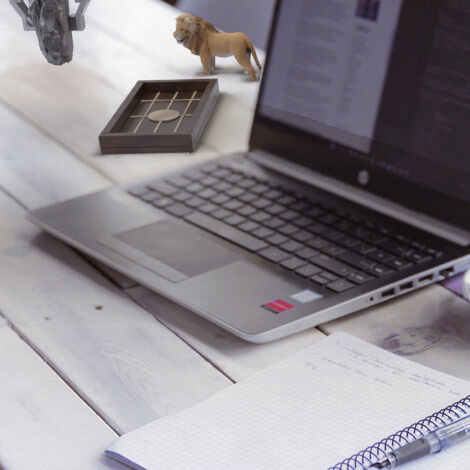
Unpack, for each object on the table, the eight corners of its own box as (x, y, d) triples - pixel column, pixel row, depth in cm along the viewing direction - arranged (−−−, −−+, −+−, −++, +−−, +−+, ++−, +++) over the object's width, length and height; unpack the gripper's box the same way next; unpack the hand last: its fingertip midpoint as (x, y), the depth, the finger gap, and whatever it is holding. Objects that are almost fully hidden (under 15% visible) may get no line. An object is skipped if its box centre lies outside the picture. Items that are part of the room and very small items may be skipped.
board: (101, 157, 113) (97, 136, 111) (140, 99, 131) (137, 80, 130) (193, 155, 112) (191, 134, 111) (219, 97, 131) (217, 78, 130)
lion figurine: (172, 78, 139) (165, 17, 135) (189, 68, 143) (182, 8, 139) (265, 85, 135) (260, 22, 131) (279, 74, 139) (275, 12, 135)
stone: (46, 43, 122) (34, -36, 118) (83, 42, 123) (72, -37, 119) (30, 79, 109) (16, -9, 104) (71, 77, 110) (59, -11, 105)
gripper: (-65, -86, 106) (-41, 36, 112) (118, -87, 105) (132, 36, 111) (-42, -94, 111) (-21, 23, 117) (131, -95, 111) (144, 23, 117)
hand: (55, 30), depth 114 cm, fingers closed on stone, 4 cm apart
